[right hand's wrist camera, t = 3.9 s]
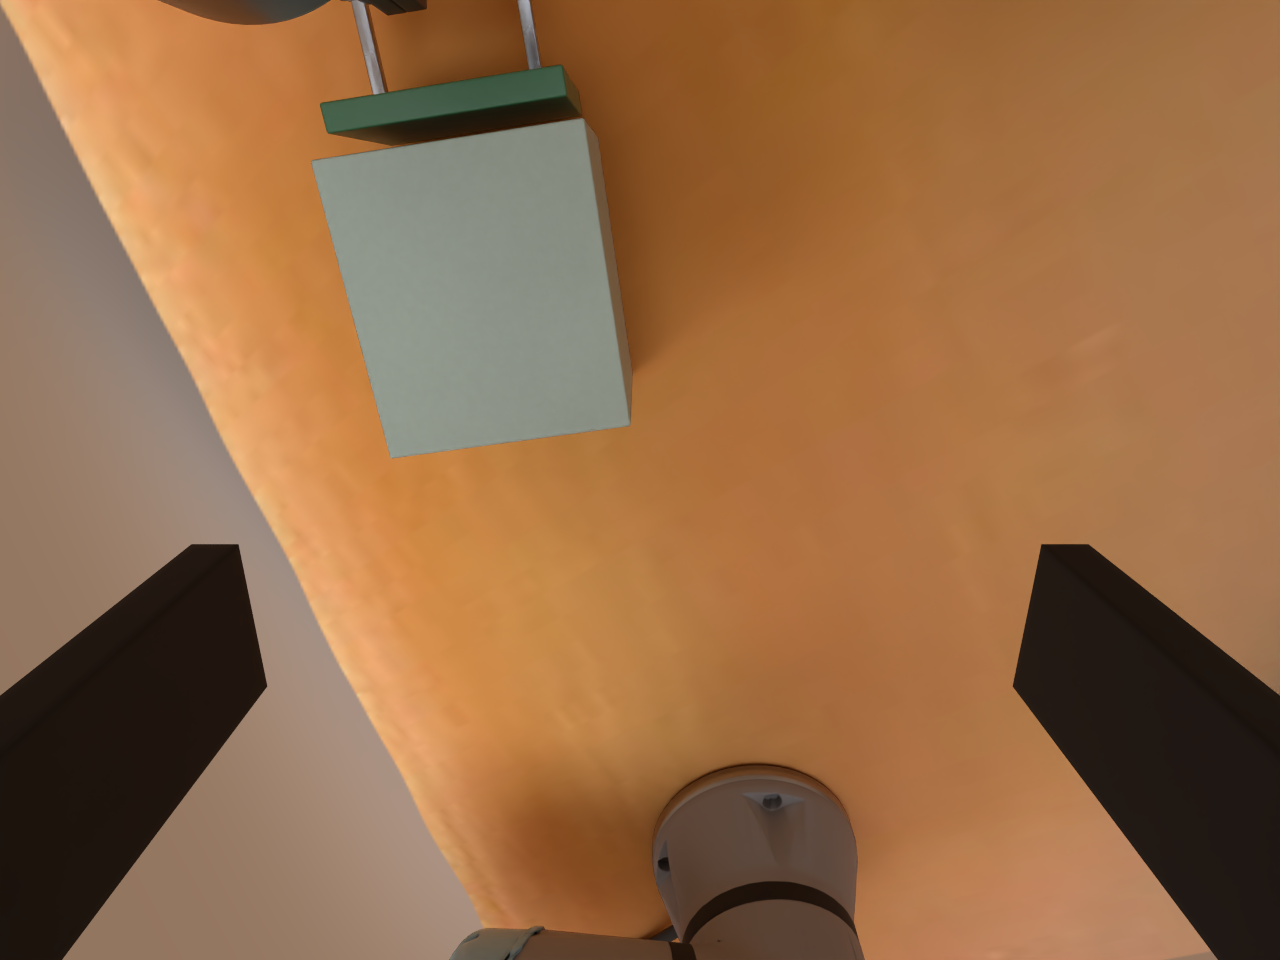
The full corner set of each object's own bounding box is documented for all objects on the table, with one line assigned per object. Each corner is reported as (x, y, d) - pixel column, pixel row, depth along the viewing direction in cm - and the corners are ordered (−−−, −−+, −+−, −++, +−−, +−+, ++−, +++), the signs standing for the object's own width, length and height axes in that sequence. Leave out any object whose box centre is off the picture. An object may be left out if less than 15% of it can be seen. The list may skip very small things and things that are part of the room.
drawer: (353, -11, 38) (274, -67, 30) (558, -45, 38) (535, -112, 30) (436, 344, 45) (390, 379, 36) (613, 319, 44) (607, 348, 36)
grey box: (390, 168, 42) (309, 160, 32) (597, 135, 42) (583, 117, 31) (445, 400, 47) (390, 459, 37) (632, 374, 46) (630, 426, 36)
